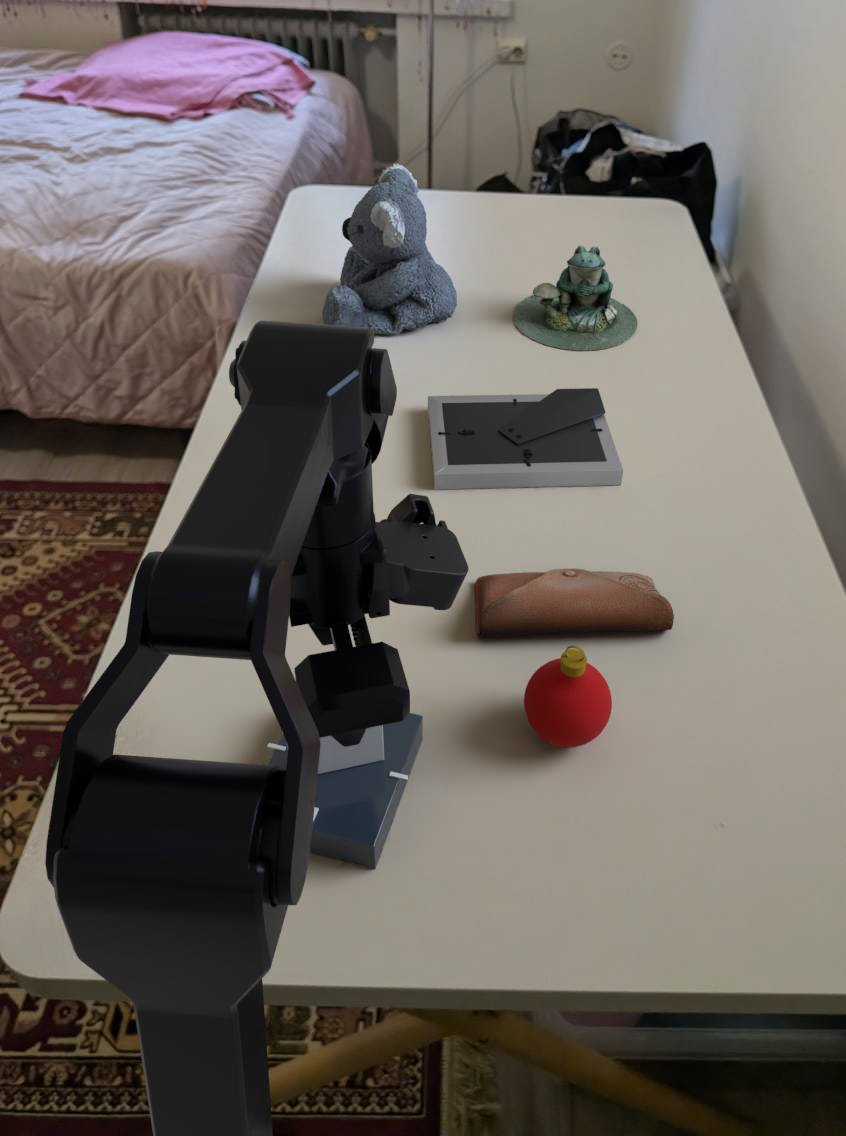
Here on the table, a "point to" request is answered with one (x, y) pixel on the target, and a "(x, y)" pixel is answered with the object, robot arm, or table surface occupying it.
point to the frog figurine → (576, 308)
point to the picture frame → (522, 441)
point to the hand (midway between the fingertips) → (339, 690)
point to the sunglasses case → (568, 603)
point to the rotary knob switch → (361, 796)
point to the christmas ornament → (568, 700)
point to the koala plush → (389, 263)
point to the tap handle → (351, 751)
